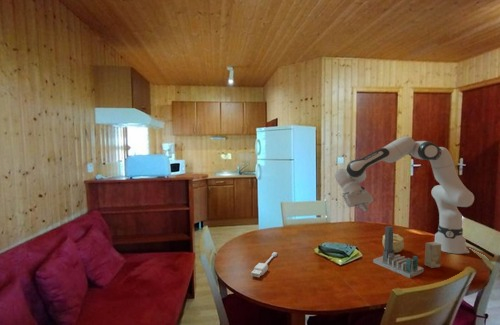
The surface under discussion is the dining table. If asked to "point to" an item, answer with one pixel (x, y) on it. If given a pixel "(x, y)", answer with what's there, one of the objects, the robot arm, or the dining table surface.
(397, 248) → the sculpture
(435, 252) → the skincare box
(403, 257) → the grey dish rack
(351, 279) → the dining table surface
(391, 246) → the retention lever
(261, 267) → the charging cable
